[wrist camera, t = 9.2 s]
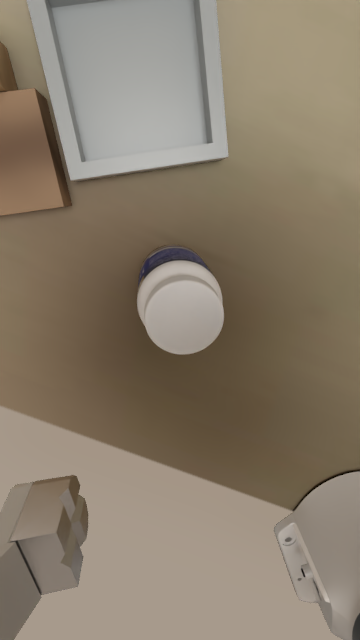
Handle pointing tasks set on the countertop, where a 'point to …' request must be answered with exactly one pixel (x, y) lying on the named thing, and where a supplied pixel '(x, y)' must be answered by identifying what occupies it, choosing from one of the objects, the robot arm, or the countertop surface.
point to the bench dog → (6, 72)
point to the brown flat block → (29, 155)
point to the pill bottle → (179, 300)
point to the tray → (133, 83)
